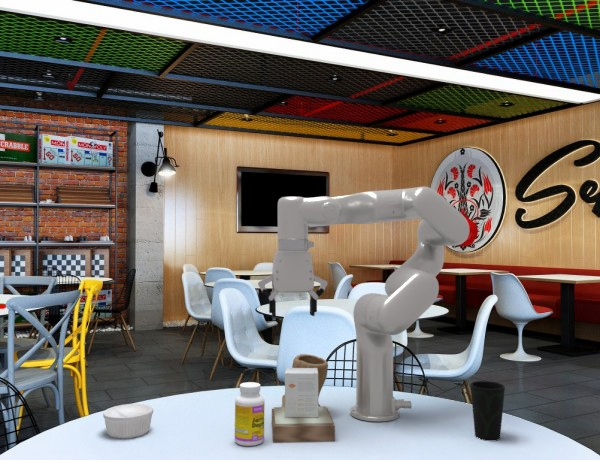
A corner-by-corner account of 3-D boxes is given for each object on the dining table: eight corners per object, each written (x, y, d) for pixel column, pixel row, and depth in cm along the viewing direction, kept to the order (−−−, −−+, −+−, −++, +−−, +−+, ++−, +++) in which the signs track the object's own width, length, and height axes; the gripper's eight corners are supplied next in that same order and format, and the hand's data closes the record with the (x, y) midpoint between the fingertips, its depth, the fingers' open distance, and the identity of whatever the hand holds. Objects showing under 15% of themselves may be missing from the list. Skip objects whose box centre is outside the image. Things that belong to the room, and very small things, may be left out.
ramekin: (92, 437, 132) (93, 414, 132) (123, 422, 143) (123, 401, 143) (133, 443, 128) (134, 419, 129) (161, 428, 139) (162, 406, 139)
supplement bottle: (252, 449, 125) (252, 389, 125) (228, 443, 128) (229, 385, 129) (270, 440, 131) (270, 383, 131) (246, 434, 134) (247, 379, 134)
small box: (318, 411, 140) (318, 367, 140) (318, 418, 134) (318, 372, 134) (285, 410, 140) (285, 367, 140) (284, 417, 134) (284, 372, 134)
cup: (487, 444, 129) (487, 390, 129) (463, 434, 135) (463, 383, 136) (512, 439, 132) (512, 386, 132) (487, 429, 139) (487, 379, 139)
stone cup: (329, 420, 145) (330, 361, 146) (283, 420, 145) (283, 361, 145) (324, 403, 161) (324, 349, 161) (281, 403, 160) (282, 349, 160)
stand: (327, 421, 144) (327, 405, 144) (334, 441, 130) (334, 423, 130) (271, 422, 143) (271, 406, 143) (273, 442, 129) (273, 424, 129)
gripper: (324, 246, 147) (324, 313, 147) (257, 246, 145) (257, 314, 145) (330, 246, 140) (330, 317, 139) (258, 246, 137) (259, 318, 137)
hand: (293, 315), depth 142 cm, fingers open, 9 cm apart
